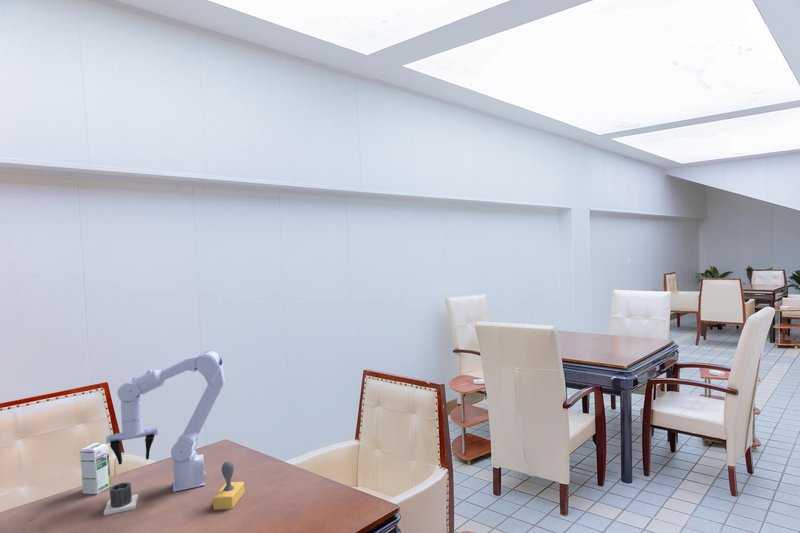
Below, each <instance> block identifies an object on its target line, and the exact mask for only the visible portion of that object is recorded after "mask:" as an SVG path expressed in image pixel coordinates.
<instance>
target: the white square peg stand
mask: <svg viewBox="0 0 800 533" xmlns="http://www.w3.org/2000/svg"><path fill="white" fill-rule="evenodd" d="M120 489H122V488H120ZM117 490H118V489H117ZM131 495H132V494H131ZM138 498H139V494H133V495H132V501H131V503H129V504H128V505H126V506H123V507H118V508H113V507H111V504H110V499H109V500H107V501H106V502H107V503H106V505H105V508H104V510H103V516H108V515H112V514H118V513H122V512H127V511H131V510H136V506H137V504H138Z"/></svg>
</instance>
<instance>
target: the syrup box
mask: <svg viewBox="0 0 800 533" xmlns="http://www.w3.org/2000/svg"><path fill="white" fill-rule="evenodd" d="M79 457H80V472H81V483H82V484H81V485H82V493H83V494H85V495H99V494H100V493H102V492H103V491H105V490H107V489H110V488H111V487H112V480H111V469H110V468H111V467H110V466H111V465H110V464H111V463H110V454H109V443H107V444H106V442H97V443H96V442H94V443H92V444H90V445H88V446H86V447H84V448H81V449H79Z"/></svg>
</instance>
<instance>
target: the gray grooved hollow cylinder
mask: <svg viewBox="0 0 800 533" xmlns="http://www.w3.org/2000/svg"><path fill="white" fill-rule="evenodd" d="M120 488H122V489H120ZM117 489H118V490H117ZM109 496H110V497H109V500H110V504H111V507H113V508H118V507H123V506H126V505H128V504H129V503H131V501H132V484H131V483H130V482H121V483H116V484H115V485H113V486H112V485H111V487H109Z"/></svg>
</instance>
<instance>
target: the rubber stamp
mask: <svg viewBox="0 0 800 533" xmlns="http://www.w3.org/2000/svg"><path fill="white" fill-rule="evenodd" d="M234 469H235V466H234V463H233V462H232V461H229V460H227V461H225V462H224V463H223V464H222V466H221V473H222V476H223V478H224V480H225V484H224V485H223V486H222V487H221V488H220V489H219V491H217V493H216V494H215V495H214V496H213V498H212V501H213V502H212V504H213V510H217V511H218V510H232V509H233V508H234V507H235V505H236V504H237V503H238V502H239V501H240V499H241V498H242V497H243V496H244V495H245V493H246V492H245V482H244V481H232V477H233V474H234V471H235V470H234Z"/></svg>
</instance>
